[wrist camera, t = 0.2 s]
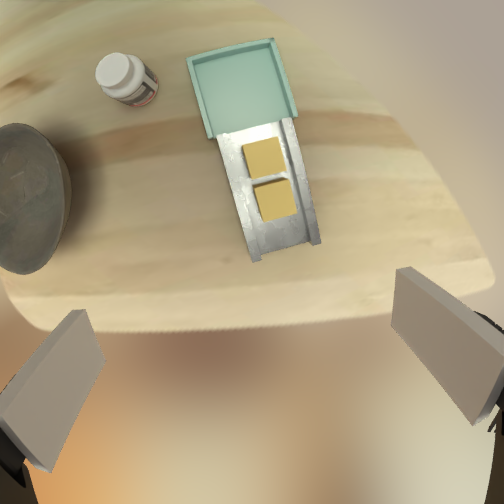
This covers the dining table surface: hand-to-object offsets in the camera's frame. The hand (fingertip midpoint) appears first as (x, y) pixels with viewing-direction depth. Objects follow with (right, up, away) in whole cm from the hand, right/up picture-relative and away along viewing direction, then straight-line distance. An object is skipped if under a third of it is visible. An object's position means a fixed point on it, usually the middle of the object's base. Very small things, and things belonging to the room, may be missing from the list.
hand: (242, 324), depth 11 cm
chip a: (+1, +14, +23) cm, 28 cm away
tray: (-1, +23, +21) cm, 32 cm away
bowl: (-30, +12, +23) cm, 40 cm away
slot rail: (+2, +11, +26) cm, 28 cm away
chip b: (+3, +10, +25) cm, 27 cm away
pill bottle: (-14, +24, +21) cm, 35 cm away
